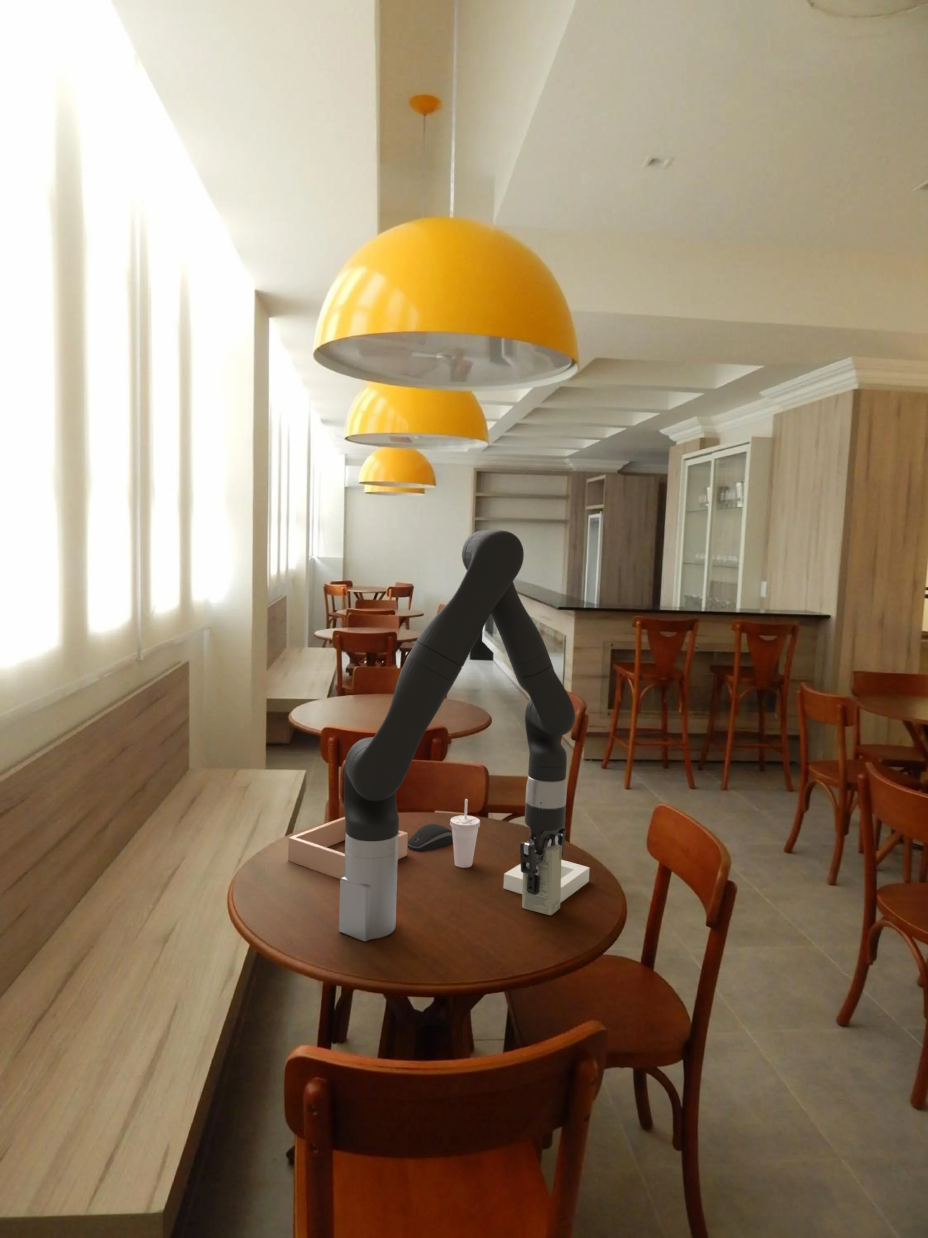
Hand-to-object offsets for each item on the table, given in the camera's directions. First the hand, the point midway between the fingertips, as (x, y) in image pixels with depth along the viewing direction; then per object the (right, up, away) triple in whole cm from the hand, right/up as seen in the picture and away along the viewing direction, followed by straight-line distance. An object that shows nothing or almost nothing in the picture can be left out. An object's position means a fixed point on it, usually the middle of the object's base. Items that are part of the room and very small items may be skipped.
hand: (541, 887), depth 149 cm
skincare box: (0, -4, 0) cm, 4 cm away
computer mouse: (-22, -1, +31) cm, 39 cm away
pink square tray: (-39, -1, +21) cm, 44 cm away
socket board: (+2, -3, +11) cm, 12 cm away
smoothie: (-15, -2, +20) cm, 25 cm away
